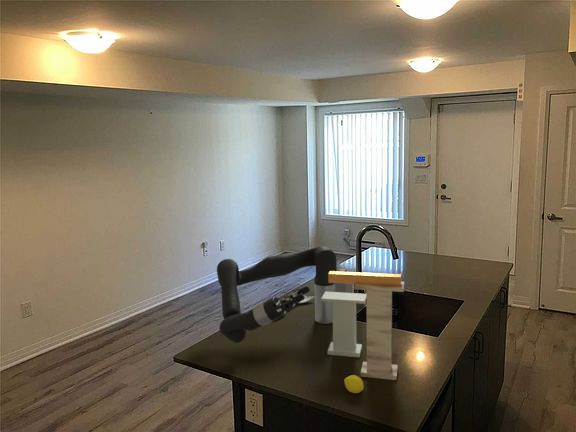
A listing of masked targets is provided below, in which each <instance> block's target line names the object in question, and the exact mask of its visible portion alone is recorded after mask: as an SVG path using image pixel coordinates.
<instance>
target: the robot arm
mask: <svg viewBox="0 0 576 432" xmlns="http://www.w3.org/2000/svg"><path fill="white" fill-rule="evenodd" d="M337 261H338V260H337V255H336V253H335V252H334V251H333V250H332V249H331V248H329V246H325V245H320V246H316V247H313V248H309V249H306V250H303V251H297V252H295V251H294V252H287V253H283V254H277V255H271V256H267V257H265V258H263V259H262V260H260V261H259V262H257V263H256V264H255V265H254V266H252V267H250V268H247V269H244V270H240V269H239V265H238V263H237V261H236V260H234V259H232V258H225V259H222V260H220V261H219V263H218V264H217V266H216V275H217V279H218V284H219V285H220V286H221V287H220V288H221V310H222V318H223V320H222V321H221V322H220V324H219V326H218V327H219V328H218V329H219V331H220V333H221V334H222V336H224V337H226V338H227V339H228V340H230V342H233V343H237V344H238V343H242V342H243V340H245V337H246V335H247V331H254V330H257V329H259V328H261V327H262V326H265V325H267V324H270V323H273V322H274V321H276V320H278V319H280V318H282V317H284V315H285V314H286V312H285V311H289V310H291V309H293V307H294V306H295V305H296V304H299V303H298V302H300V301H302V300H304V299H305V297H306V296H304V295H305V294H308V293H309V292H310V291H311V290H310V287H309V286H308V285H306V286H303V287H302V288H296V289H294V290H293V291H291V292H289V293H287V294H285V295H284V296H282V297H281V299H279V297H276V296H273V297H271V298H269V299H267V300H266V301H263V302H262V303H259V304H258V305H256V306H255V307H254V308H252V309H250V310H248V311H246V312H241V311H242V310H241V303H240V297H239V292H238V287H239V286H242V285H245V284H249V283H252V282H257V281H263V280H266V279H270V278H277V277H281V276H283V277H284V276H286V275H289V274H292V273H293V272H296V271H298V270H300V269H303V268H307V267H314V266H315V276H314V280H313V281H314V286H313V288H314V320H315V322H316V323H319V324H325V325H327V324H333V305H332V302H328V301H321V298H322V296H323V295H324V293H325V292H335V283H329V281H328V274H329V272H330V271H338V270H337Z"/></svg>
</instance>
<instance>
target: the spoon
mask: <svg viewBox="0 0 576 432" xmlns="http://www.w3.org/2000/svg"><path fill="white" fill-rule="evenodd" d="M303 296H304V297H305V299H304V300H302V301H300V302H298V303H297V304H305V303H307V302H309V301H310V300H313V299H315V295H313V296H308V295H305V294H304V295H303ZM286 311H287V310H286ZM286 311H285V313H286Z"/></svg>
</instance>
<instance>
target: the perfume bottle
mask: <svg viewBox="0 0 576 432" xmlns="http://www.w3.org/2000/svg"><path fill="white" fill-rule="evenodd" d="M337 271H339V272H348V269H346V268H339V269H338V270H337ZM335 292H342V293H353V284H343V283H335Z"/></svg>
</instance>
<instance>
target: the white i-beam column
mask: <svg viewBox="0 0 576 432" xmlns="http://www.w3.org/2000/svg"><path fill="white" fill-rule="evenodd" d="M321 301H328V302H332V305H333V323H332V340H333V341H330V344H329V345H328V349H327V355H329V356H330V355H331V356H339V357H352V358H360V357H361V353H362V349H363V344H361V343H357V304H361V305H362V304H363V305H365V304H366V302H367V294H364V293H359V292H358V293H355V292H352V293H342V292H325V293H324V295H323V296H322V298H321Z"/></svg>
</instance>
